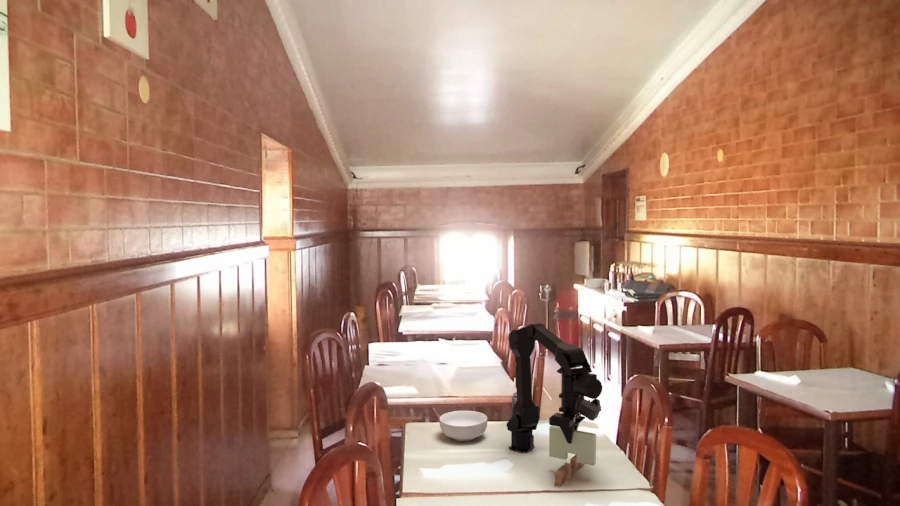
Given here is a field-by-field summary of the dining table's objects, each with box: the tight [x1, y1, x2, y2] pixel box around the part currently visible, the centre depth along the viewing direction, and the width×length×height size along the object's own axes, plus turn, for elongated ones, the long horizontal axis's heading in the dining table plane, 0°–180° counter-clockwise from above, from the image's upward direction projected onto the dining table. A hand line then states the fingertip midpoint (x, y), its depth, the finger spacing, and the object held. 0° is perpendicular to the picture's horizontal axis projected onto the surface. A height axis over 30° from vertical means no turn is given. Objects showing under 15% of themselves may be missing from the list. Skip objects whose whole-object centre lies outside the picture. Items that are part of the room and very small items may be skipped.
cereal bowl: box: [439, 410, 488, 442], centre depth 227 cm, size 17×17×7 cm
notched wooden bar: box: [554, 454, 586, 488], centre depth 194 cm, size 20×2×4 cm, turn 147°
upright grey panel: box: [548, 425, 597, 467], centre depth 194 cm, size 14×2×9 cm, turn 58°
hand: (570, 442), depth 194 cm, fingers closed on upright grey panel, 2 cm apart
